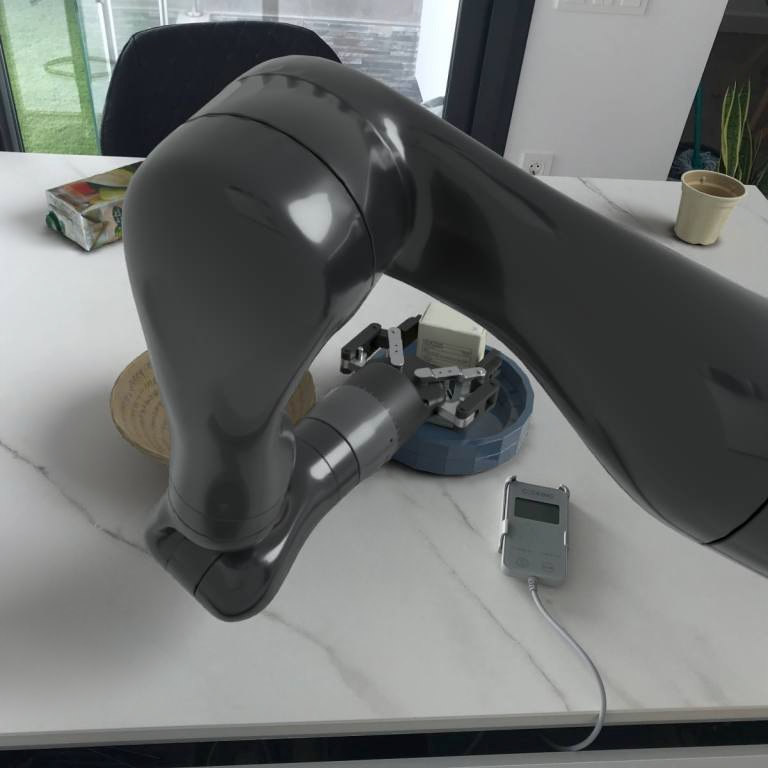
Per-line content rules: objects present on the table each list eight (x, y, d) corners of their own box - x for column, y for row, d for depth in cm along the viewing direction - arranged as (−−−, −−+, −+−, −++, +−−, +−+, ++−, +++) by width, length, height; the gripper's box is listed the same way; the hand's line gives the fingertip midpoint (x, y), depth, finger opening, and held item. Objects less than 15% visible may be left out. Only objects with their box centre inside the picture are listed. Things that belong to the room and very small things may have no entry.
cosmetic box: (475, 408, 82) (494, 312, 75) (466, 433, 79) (485, 337, 71) (418, 392, 84) (430, 297, 76) (406, 417, 80) (418, 320, 73)
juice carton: (82, 256, 101) (74, 212, 97) (42, 228, 106) (33, 186, 102) (207, 211, 113) (204, 171, 109) (166, 189, 118) (162, 150, 114)
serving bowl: (559, 429, 82) (569, 396, 79) (442, 506, 72) (448, 473, 69) (442, 347, 91) (447, 316, 89) (324, 406, 82) (326, 373, 79)
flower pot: (730, 232, 120) (751, 180, 115) (722, 258, 114) (744, 204, 108) (669, 215, 123) (686, 164, 118) (658, 240, 117) (676, 187, 111)
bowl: (101, 523, 68) (86, 458, 63) (138, 387, 82) (128, 326, 77) (314, 522, 70) (316, 459, 64) (314, 390, 84) (315, 330, 79)
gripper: (435, 430, 60) (530, 336, 70) (294, 356, 66) (402, 280, 76) (424, 496, 64) (515, 399, 75) (294, 421, 70) (395, 341, 81)
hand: (458, 339), depth 76 cm, fingers open, 8 cm apart
